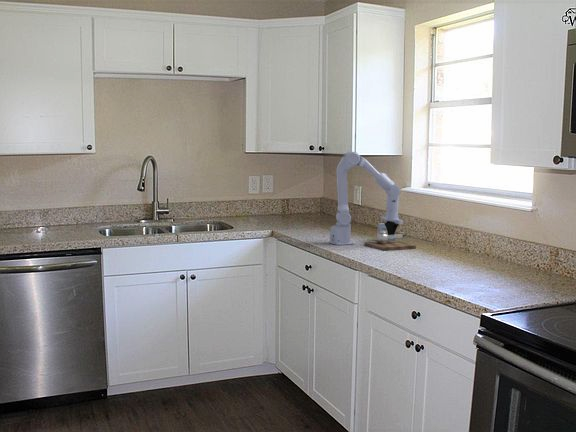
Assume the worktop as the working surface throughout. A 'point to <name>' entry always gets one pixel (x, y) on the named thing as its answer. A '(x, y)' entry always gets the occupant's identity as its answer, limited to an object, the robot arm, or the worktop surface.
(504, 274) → the worktop surface
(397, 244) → the stand
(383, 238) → the ball-knob lever
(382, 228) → the medicine box
